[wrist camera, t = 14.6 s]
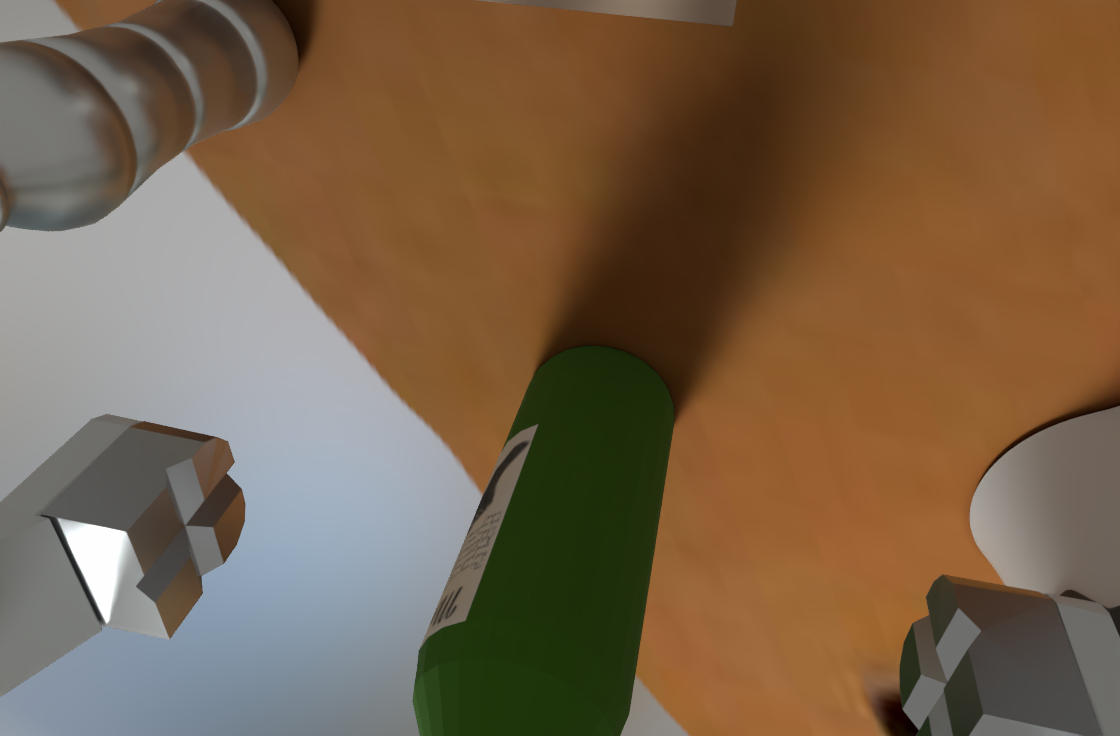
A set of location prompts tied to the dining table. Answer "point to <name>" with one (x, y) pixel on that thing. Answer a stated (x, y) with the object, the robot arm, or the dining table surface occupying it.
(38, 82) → the plastic bottle
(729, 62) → the dining table surface
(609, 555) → the wine bottle
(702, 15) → the block
